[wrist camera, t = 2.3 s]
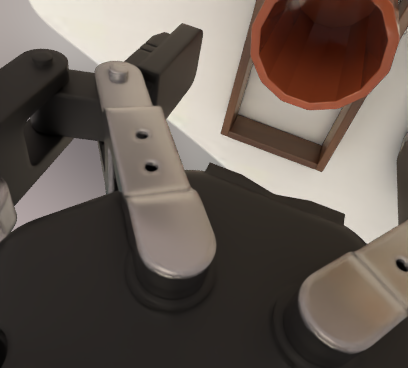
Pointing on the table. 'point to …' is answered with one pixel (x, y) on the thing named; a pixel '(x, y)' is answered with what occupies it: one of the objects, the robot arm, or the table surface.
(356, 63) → the cup
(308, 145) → the wooden divided tray
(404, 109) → the table surface
